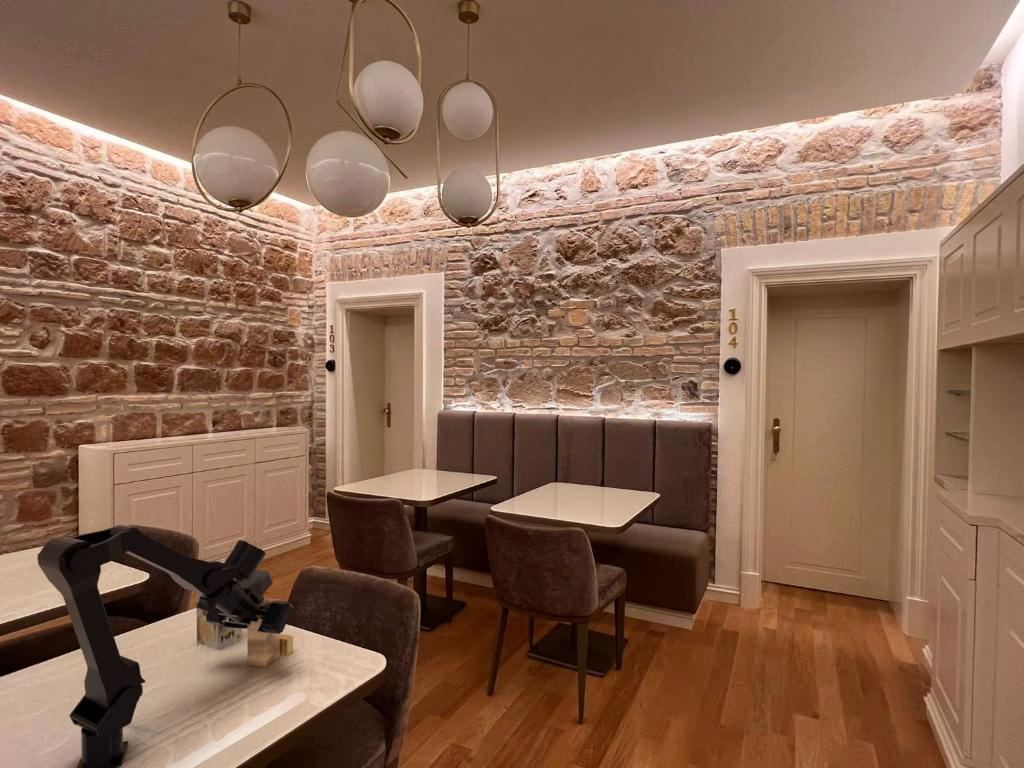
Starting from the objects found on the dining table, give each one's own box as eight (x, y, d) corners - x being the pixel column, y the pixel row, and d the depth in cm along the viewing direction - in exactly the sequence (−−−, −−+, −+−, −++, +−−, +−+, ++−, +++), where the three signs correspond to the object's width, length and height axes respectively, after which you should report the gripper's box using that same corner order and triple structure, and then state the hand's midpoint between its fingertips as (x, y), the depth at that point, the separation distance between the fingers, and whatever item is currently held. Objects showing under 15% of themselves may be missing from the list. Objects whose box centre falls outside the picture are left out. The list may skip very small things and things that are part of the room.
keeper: (264, 667, 125) (264, 608, 125) (246, 664, 126) (246, 606, 126) (280, 655, 130) (279, 599, 130) (262, 653, 131) (262, 597, 131)
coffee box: (243, 643, 138) (243, 578, 138) (219, 655, 132) (219, 586, 132) (219, 635, 142) (219, 572, 142) (195, 646, 137) (194, 580, 136)
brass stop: (287, 656, 130) (287, 639, 130) (257, 652, 132) (257, 635, 132) (292, 652, 132) (292, 635, 132) (263, 648, 134) (263, 631, 134)
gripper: (287, 566, 121) (318, 598, 132) (215, 559, 126) (250, 590, 137) (262, 618, 114) (297, 647, 125) (186, 608, 119) (226, 636, 130)
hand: (267, 628), depth 129 cm, fingers closed on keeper, 5 cm apart
